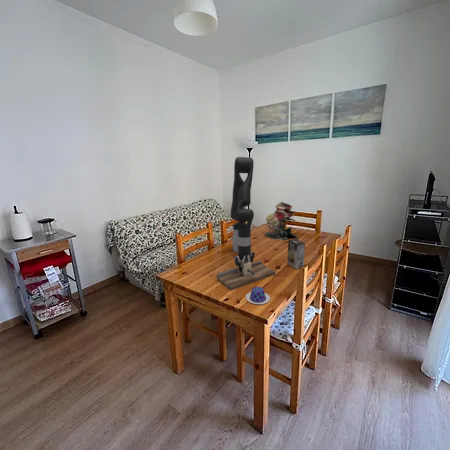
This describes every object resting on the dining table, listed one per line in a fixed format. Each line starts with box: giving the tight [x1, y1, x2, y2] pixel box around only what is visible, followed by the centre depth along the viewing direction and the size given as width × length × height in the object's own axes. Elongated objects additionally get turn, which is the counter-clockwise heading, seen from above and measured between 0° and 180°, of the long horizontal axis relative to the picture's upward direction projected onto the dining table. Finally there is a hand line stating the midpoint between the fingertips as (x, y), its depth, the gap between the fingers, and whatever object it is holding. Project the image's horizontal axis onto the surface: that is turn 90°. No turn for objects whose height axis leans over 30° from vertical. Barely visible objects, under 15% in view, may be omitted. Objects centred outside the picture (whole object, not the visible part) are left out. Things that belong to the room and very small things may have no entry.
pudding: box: [245, 286, 271, 305], centre depth 123 cm, size 12×12×5 cm
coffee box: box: [286, 238, 306, 269], centre depth 157 cm, size 9×6×16 cm
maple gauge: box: [237, 260, 254, 276], centre depth 143 cm, size 12×5×7 cm, turn 32°
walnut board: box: [216, 260, 277, 291], centre depth 145 cm, size 14×32×4 cm, turn 122°
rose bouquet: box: [264, 201, 300, 241], centre depth 213 cm, size 26×29×30 cm
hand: (244, 270), depth 146 cm, fingers closed on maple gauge, 4 cm apart
